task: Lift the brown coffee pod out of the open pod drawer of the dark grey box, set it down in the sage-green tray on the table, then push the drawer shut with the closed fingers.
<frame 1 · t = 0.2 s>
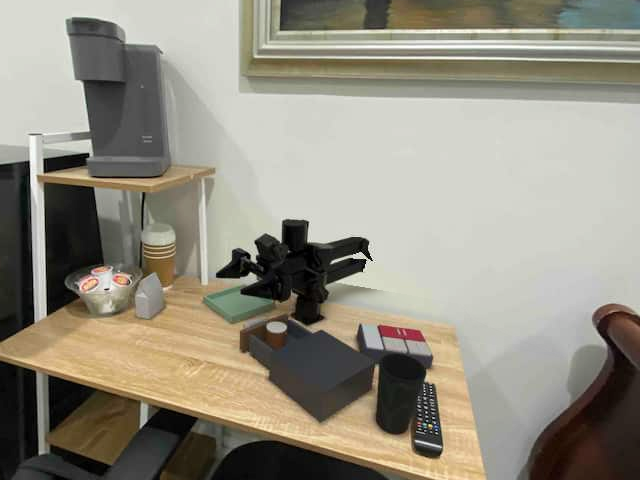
hand: (227, 283, 82), 16 cm above the table, tool horizontal, fingers open, 9 cm apart
drawer: (276, 339, 87), point 3 cm above the table, slide at 10.0 cm, touching pod
pod: (275, 344, 87), point 2 cm above the table, touching drawer
cup: (391, 423, 70), on the table
red and grey box: (391, 352, 91), on the table
tray: (238, 305, 108), on the table
dark grey box: (319, 384, 78), on the table
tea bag: (150, 312, 102), on the table
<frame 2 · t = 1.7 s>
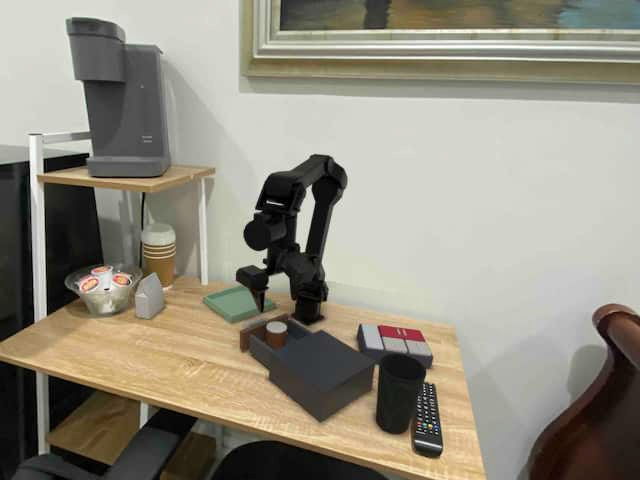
hand: (277, 306, 84), 12 cm above the table, tool pointing down, fingers open, 9 cm apart
nothing on the table moved.
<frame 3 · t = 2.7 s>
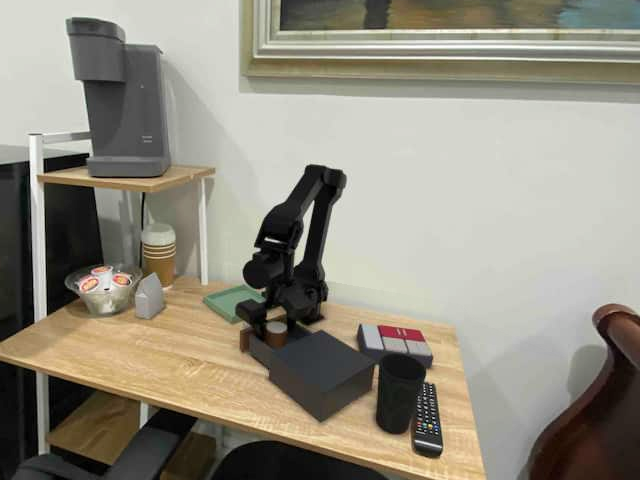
hand: (275, 336, 87), 4 cm above the table, tool pointing down, fingers open, 8 cm apart
nothing on the table moved.
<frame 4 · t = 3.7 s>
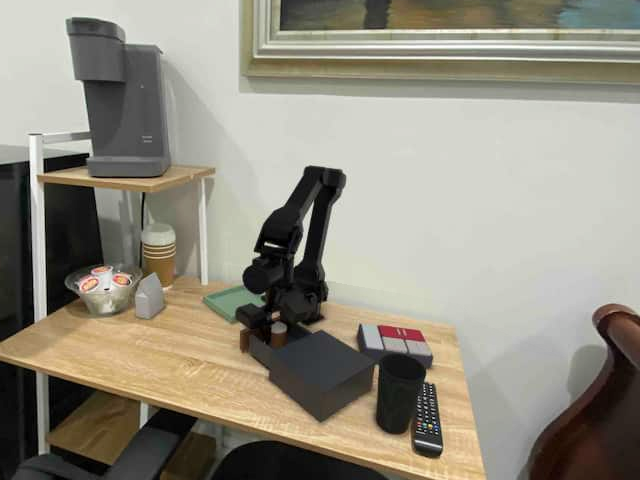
hand: (275, 340, 87), 3 cm above the table, tool pointing down, fingers closed on pod, 4 cm apart
pod: (275, 344, 87), point 2 cm above the table, touching drawer, gripper
everything else where it was.
when the fingers open (1 cm above the table, at t = 9.0 s): pod stays where it is, resting on tray.
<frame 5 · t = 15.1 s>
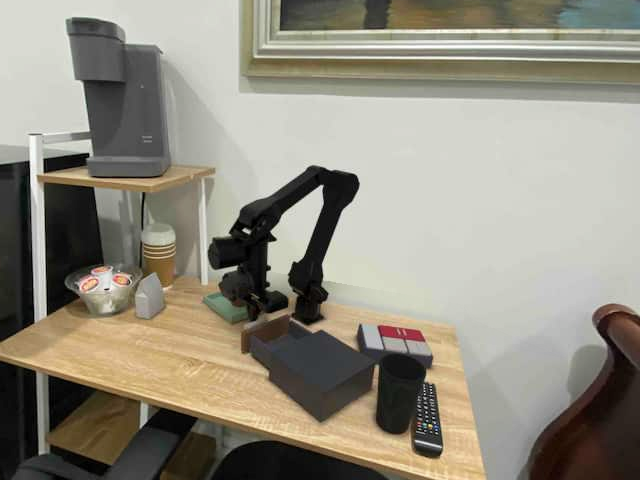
hand: (252, 322, 93), 3 cm above the table, tool pointing down, fingers closed
drawer: (277, 340, 86), point 3 cm above the table, slide at 9.5 cm, touching gripper
pod: (239, 303, 108), resting on tray
everything else where it was.
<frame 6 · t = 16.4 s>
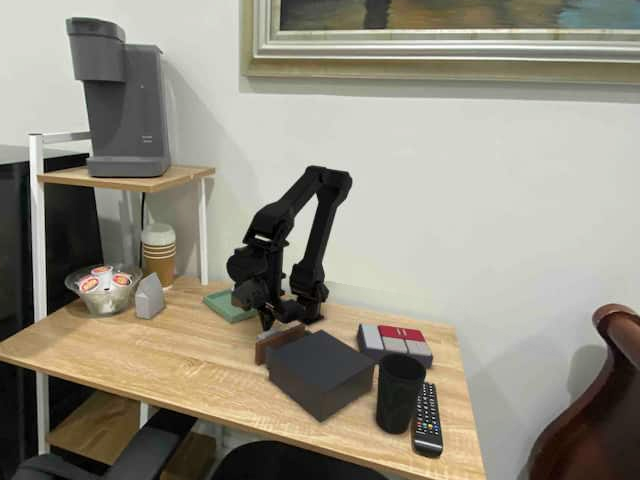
hand: (266, 331, 89), 4 cm above the table, tool pointing down, fingers closed
drawer: (293, 351, 83), point 3 cm above the table, slide at 4.3 cm, touching gripper
everything else where it was.
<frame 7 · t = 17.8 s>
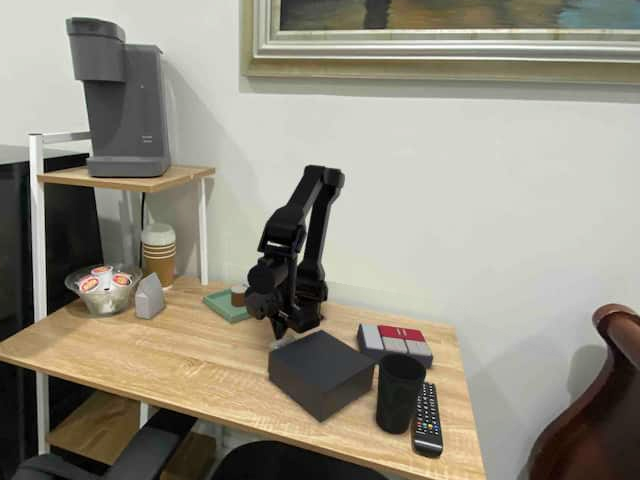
hand: (278, 340, 86), 4 cm above the table, tool pointing down, fingers closed
drawer: (307, 361, 80), point 3 cm above the table, slide at 0.0 cm, touching dark grey box, gripper
everything else where it was.
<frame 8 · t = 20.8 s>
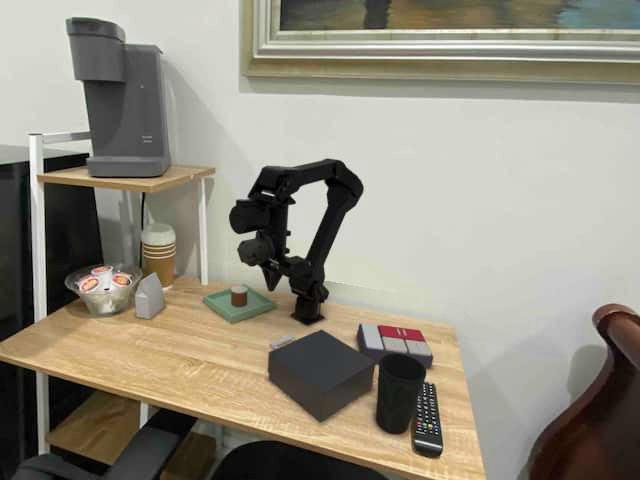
hand: (271, 291, 90), 12 cm above the table, tool pointing down, fingers closed
drawer: (307, 361, 80), point 3 cm above the table, slide at 0.0 cm, touching dark grey box
everything else where it was.
at the end: pod inside the target area in the tray (0.1 cm from its centre), point 0.5 cm above the tray's base; pod tilted 0°; drawer slide at 0.0 cm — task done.
